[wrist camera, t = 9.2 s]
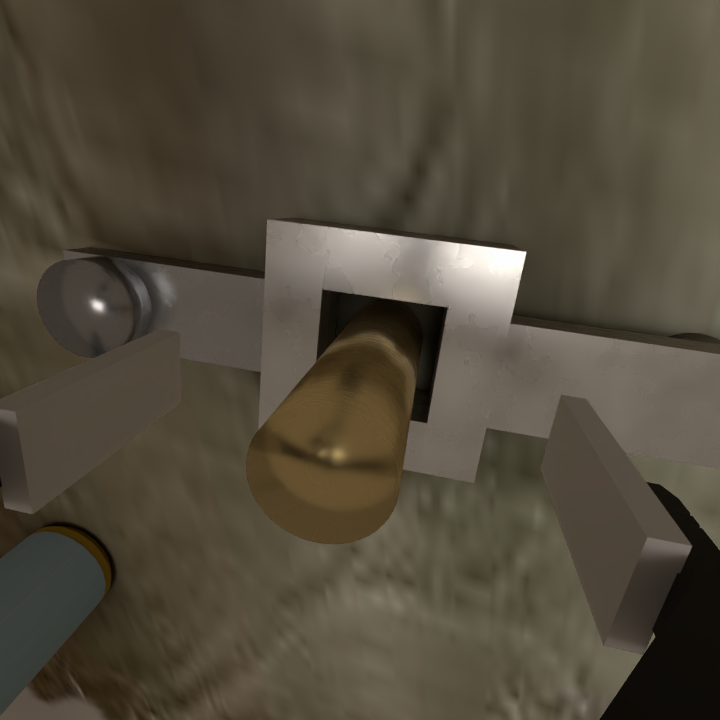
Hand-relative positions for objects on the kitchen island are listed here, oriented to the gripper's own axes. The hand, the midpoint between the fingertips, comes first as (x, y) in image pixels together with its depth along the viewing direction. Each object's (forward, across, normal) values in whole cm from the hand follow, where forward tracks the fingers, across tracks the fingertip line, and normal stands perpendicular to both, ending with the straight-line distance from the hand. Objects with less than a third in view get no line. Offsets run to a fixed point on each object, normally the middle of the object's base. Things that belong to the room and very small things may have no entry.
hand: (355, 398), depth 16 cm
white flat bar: (+10, 0, 0) cm, 10 cm away
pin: (+10, 0, 0) cm, 10 cm away
